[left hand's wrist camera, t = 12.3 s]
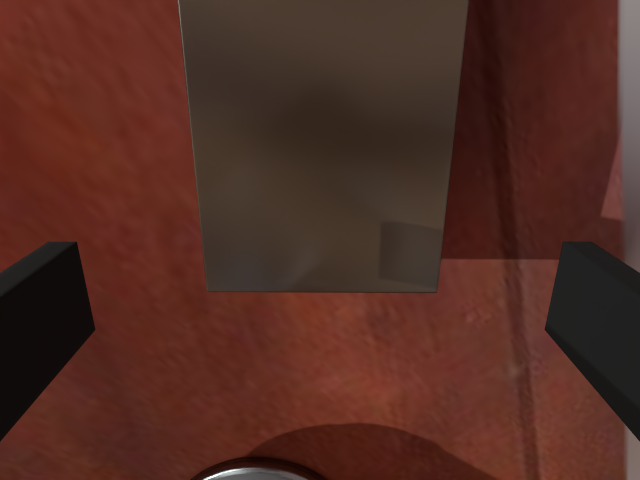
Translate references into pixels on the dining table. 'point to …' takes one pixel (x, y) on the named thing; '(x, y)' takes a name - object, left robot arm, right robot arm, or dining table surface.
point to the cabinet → (322, 140)
